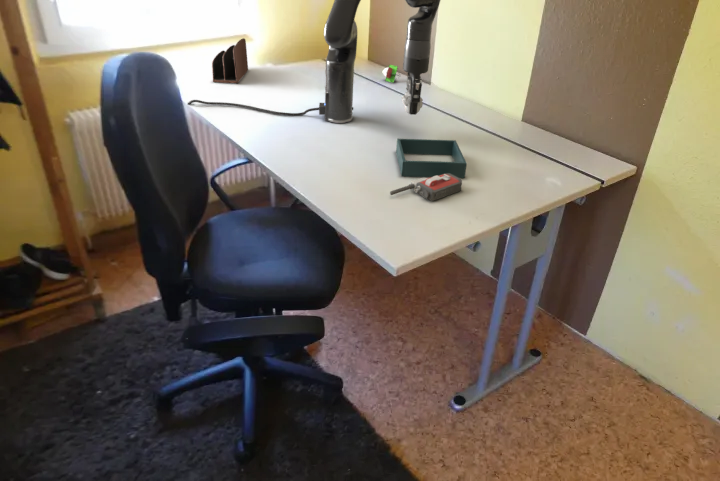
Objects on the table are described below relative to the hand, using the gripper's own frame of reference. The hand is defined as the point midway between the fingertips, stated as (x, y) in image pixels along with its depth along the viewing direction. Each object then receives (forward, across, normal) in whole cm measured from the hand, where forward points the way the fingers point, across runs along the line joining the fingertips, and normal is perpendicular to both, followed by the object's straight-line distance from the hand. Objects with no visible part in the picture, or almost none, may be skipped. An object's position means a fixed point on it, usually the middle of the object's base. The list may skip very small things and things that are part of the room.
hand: (411, 110), depth 168 cm
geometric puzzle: (+10, -65, 0) cm, 66 cm away
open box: (+10, +18, +4) cm, 21 cm away
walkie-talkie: (+10, +36, +1) cm, 37 cm away
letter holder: (+10, -64, -65) cm, 92 cm away
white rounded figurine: (+2, 0, 0) cm, 2 cm away
